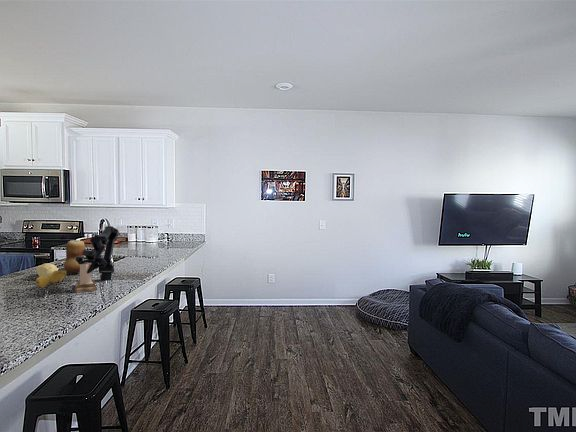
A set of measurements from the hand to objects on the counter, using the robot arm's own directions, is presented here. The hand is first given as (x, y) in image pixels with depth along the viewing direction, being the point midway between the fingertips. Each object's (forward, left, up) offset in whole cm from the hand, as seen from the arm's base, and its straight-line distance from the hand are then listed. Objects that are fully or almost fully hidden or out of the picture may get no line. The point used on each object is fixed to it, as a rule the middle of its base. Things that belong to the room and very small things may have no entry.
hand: (84, 273), depth 222 cm
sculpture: (+23, -50, -12) cm, 57 cm away
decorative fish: (+19, -27, -12) cm, 35 cm away
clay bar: (-1, -1, -7) cm, 7 cm away
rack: (-1, -5, -12) cm, 13 cm away
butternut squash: (+7, -61, -12) cm, 63 cm away
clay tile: (-1, -11, -11) cm, 15 cm away
